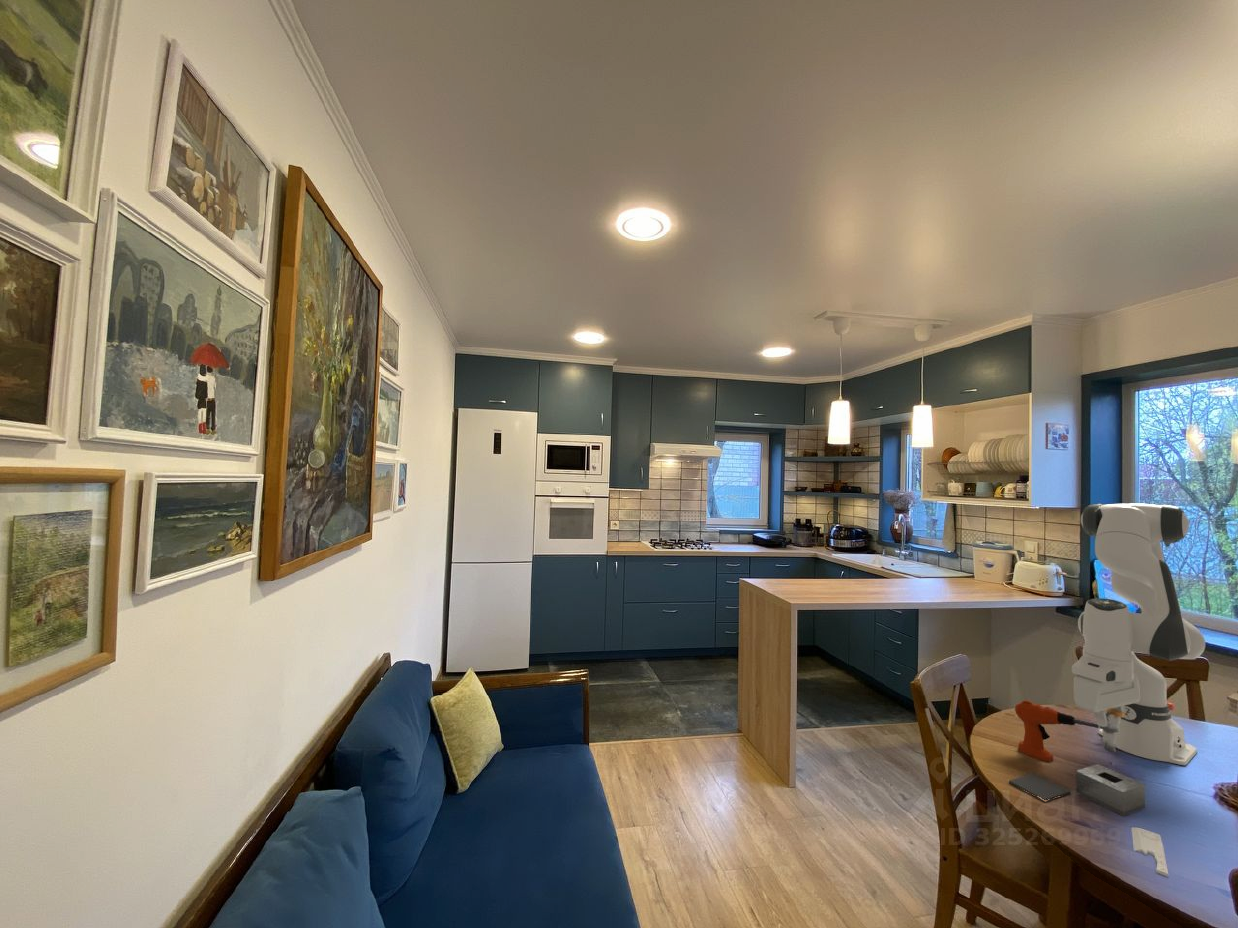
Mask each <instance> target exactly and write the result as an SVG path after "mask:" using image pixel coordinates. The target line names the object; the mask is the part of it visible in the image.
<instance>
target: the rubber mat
mask: <svg viewBox="0 0 1238 928" xmlns="http://www.w3.org/2000/svg"><path fill="white" fill-rule="evenodd" d="M1008 784H1010V785H1012V786H1014V787H1016V786H1017V787H1016V788H1018V787H1019V788H1021V789H1023V790H1025V791H1027V792H1029V793H1031V794H1033V795H1035V796H1039V797H1041V798H1042V799H1044V800H1048V799H1053V798H1055V797H1058V796H1061V797H1063V796H1066V795H1069V794H1070V795H1071V790H1069V788H1068V789H1067V788H1066V787H1063V786H1062V785H1059V784H1057V783H1056V782H1053V781H1052V780H1049V779H1047V778H1045V777H1043V776H1041V775H1038V774H1037V773H1034V772H1032V773H1029V774H1026V775H1022V776H1020V777H1017V778H1014V779H1009V780H1008ZM1019 788H1018V789H1019ZM1021 789H1020V790H1021ZM1023 790H1022V791H1023ZM1025 791H1024V792H1025ZM1027 792H1026V793H1027ZM1029 793H1028V794H1029ZM1031 794H1030V795H1031ZM1033 795H1032V796H1033ZM1053 800H1054V799H1053Z"/></svg>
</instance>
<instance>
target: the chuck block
mask: <svg viewBox="0 0 1238 928" xmlns="http://www.w3.org/2000/svg"><path fill="white" fill-rule="evenodd" d="M1075 775H1076V776H1075V779H1076V780H1075V782H1076V785H1075V786H1076V794H1077V795H1079V796H1081V797H1083V798H1085V799H1087V800H1090V801H1091V802H1094V803H1095V804H1098V805H1099V806H1101V807H1104V808H1105V809H1108V810H1110V811H1112V812H1114V813H1116V814H1117V815H1120V816H1122V817H1126V816H1129V815H1131V814H1133V813H1135V812H1139V811H1140V810H1143V809H1146V784H1145V783H1143V782H1140V781H1138V780H1136V779H1133V778H1131V777H1129V776H1126V775H1123V774H1122V773H1120V772H1117V771H1115V770H1113V769H1110V768H1107V767H1105V766H1103V765H1102V764H1098V763H1097V764H1093V765H1090V766H1087V767H1084V768H1081V769H1077V770H1076V771H1075Z"/></svg>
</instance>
